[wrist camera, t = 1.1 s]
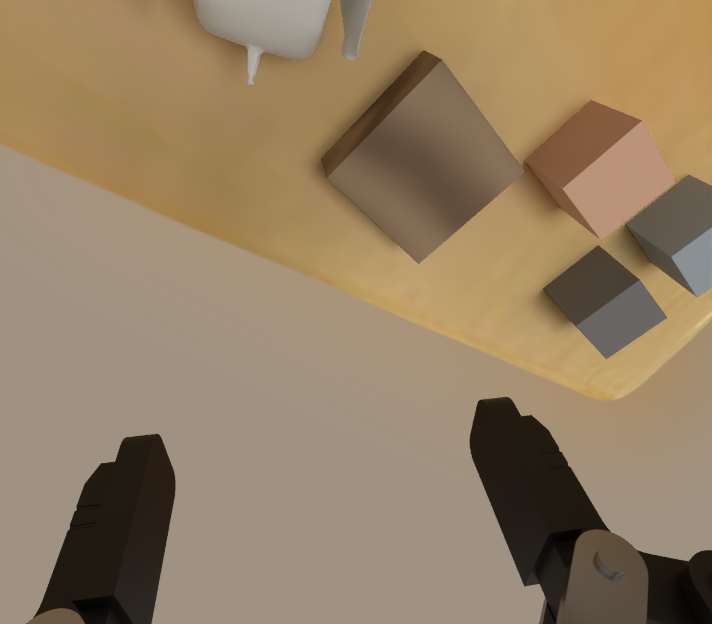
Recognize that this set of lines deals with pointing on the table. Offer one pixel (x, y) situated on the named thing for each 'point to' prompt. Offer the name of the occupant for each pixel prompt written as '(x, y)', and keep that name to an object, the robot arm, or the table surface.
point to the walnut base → (421, 159)
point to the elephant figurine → (280, 26)
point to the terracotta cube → (601, 168)
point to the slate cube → (679, 234)
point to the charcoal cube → (605, 301)
